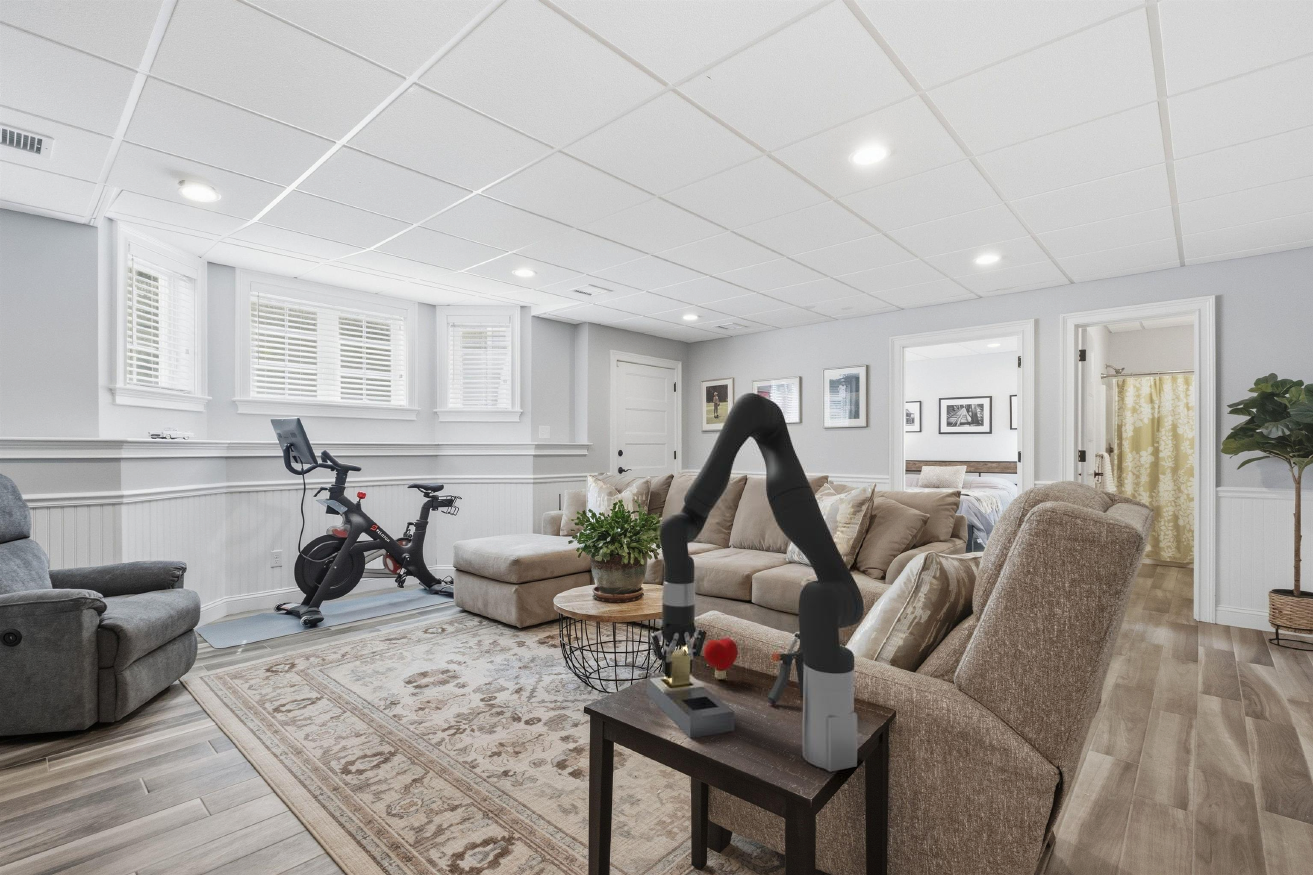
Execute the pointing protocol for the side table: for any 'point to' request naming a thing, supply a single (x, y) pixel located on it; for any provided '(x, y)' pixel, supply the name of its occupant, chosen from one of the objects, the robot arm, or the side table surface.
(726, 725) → the grey peg holder block
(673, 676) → the brass block
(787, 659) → the hand grip strengthener
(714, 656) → the red two-lobed part
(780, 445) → the robot arm
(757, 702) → the side table surface
